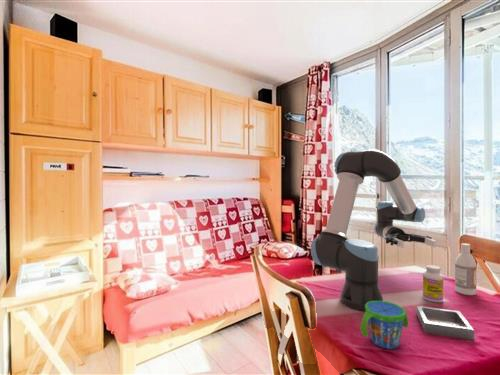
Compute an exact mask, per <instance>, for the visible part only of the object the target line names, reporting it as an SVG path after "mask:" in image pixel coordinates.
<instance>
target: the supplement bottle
mask: <svg viewBox="0 0 500 375" xmlns="http://www.w3.org/2000/svg"><path fill="white" fill-rule="evenodd" d="M425 269H426V271H424V272H423V274H422V297H423V298H424V300H426V301H428V302H431V303H443V301H444V275H443V274H442V273H441V271H442V270H441V267H440V266H438V265H436V264H435V265H434V264H427V265H426V266H425Z"/></svg>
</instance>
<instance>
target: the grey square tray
mask: <svg viewBox="0 0 500 375" xmlns="http://www.w3.org/2000/svg"><path fill="white" fill-rule="evenodd" d="M416 316H417V318H418V320H419V323H420V325H421V327H422V329H423V333H425V334H432V335H439V336H444V337H450V338H457V339H464V340H469V341H470V340H471V341H475V329H474V328H473V327H472V325H471V324H470V323H469V321H468V320H467V319H466V317H465V316H464V314H462V312H461V310H453V309H452V310H451V309H446V308H445V309H444V308H439V307H436V308H435V307H429V306H423V305H421V306H420V305H416Z"/></svg>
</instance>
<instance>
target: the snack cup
mask: <svg viewBox="0 0 500 375" xmlns="http://www.w3.org/2000/svg"><path fill="white" fill-rule="evenodd" d="M361 318H362V319H361V323H360V327H359V328H360V332H361V334H362V335H363V337H365V338H368V337H370V340H371V341H372V343H373V344H374V345H375V346H378V347H380V348H384V349H387V350H392V349H393V350H394V349H396V348H398V347H400V343H401V338H402V332H403V327H404V328H408V327H409V319H408V318H409V317H408V313H407V311H406V309H404V308H403V307H402V306H400V305H398V304H397V303H393V302H391V301H384V300H383V301H370V302H367V303H366V304H365V311H364V314H363V316H362V317H361ZM368 330H369V332H368Z"/></svg>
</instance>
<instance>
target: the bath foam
mask: <svg viewBox="0 0 500 375" xmlns="http://www.w3.org/2000/svg"><path fill="white" fill-rule="evenodd" d="M460 245H461V246H460V253H459V254H458V256H456V259H455V261H454V262H455V263H454V290H455V292H456V293H458V294H462V295H465V296H475V295H476V294H477V263H476V260H475V258H474V257H473V255H472V254H471V244H470V243H463V242H462V243H461V244H460Z"/></svg>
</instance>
